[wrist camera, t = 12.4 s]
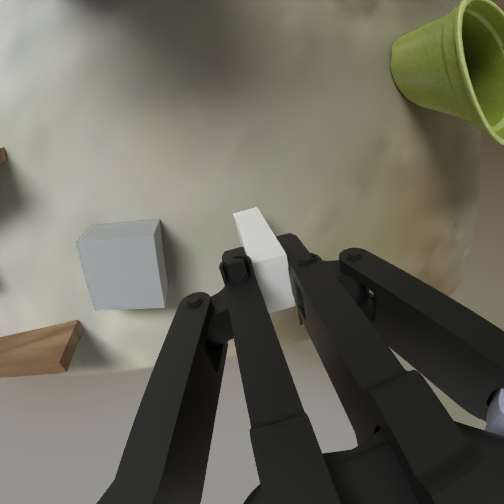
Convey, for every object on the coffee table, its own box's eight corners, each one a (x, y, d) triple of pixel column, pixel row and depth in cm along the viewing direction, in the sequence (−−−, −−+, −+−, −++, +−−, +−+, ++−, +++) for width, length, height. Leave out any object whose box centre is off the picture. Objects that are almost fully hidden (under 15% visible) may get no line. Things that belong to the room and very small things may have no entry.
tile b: (91, 223, 18) (75, 241, 15) (160, 217, 18) (153, 234, 16) (105, 286, 20) (94, 310, 17) (168, 283, 20) (164, 307, 18)
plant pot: (468, 93, 17) (544, 104, 9) (413, 150, 19) (500, 177, 11) (414, 3, 13) (491, -17, 5) (345, 48, 15) (431, 19, 7)
